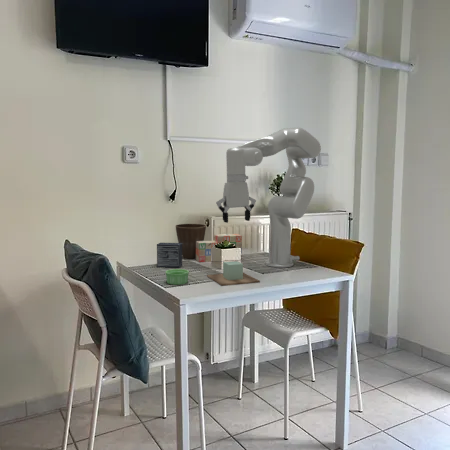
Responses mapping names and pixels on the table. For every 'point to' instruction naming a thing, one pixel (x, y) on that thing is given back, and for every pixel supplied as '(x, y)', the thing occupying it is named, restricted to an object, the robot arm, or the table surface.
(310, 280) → the table surface
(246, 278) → the walnut board
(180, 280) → the ramekin
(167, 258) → the small box
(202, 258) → the stack of blocks
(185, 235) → the plant pot
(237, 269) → the sage cube
